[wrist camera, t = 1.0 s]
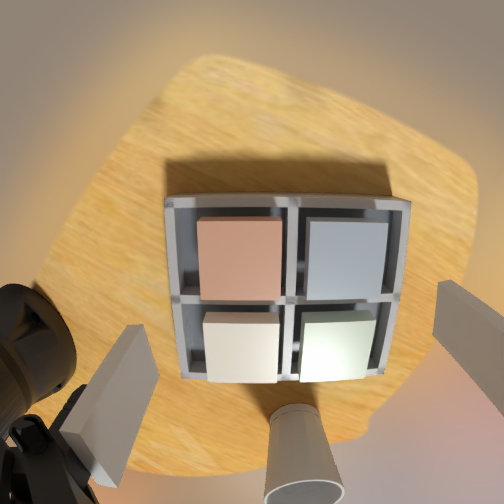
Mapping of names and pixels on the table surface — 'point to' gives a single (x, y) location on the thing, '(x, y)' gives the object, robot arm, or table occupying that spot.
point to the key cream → (241, 346)
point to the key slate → (344, 258)
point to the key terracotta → (240, 257)
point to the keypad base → (292, 269)
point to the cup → (300, 459)
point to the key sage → (335, 345)
